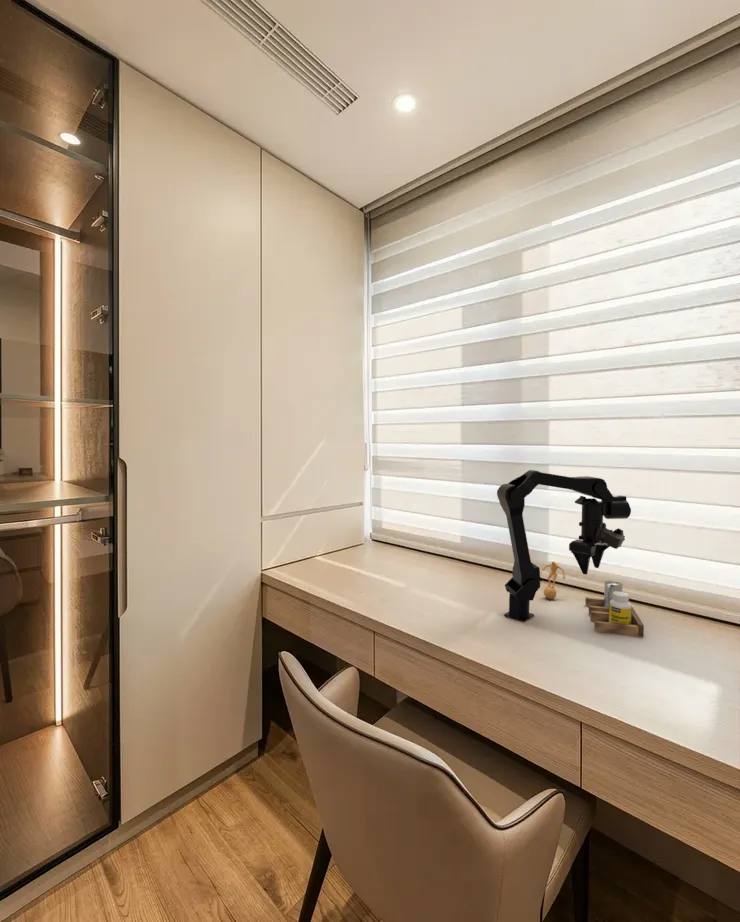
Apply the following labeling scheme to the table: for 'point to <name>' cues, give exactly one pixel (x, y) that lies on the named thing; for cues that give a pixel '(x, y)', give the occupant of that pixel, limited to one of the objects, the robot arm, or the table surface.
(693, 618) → the table surface
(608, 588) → the grey can
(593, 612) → the wooden rack
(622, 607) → the supplement bottle
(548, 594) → the figurine
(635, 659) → the table surface
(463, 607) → the table surface
